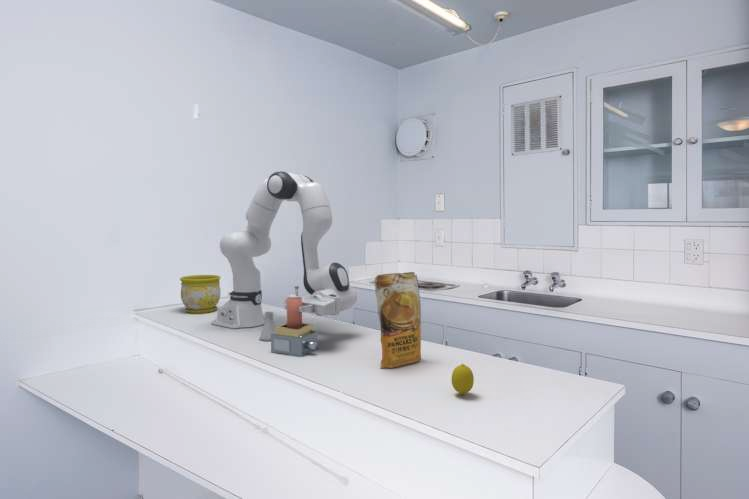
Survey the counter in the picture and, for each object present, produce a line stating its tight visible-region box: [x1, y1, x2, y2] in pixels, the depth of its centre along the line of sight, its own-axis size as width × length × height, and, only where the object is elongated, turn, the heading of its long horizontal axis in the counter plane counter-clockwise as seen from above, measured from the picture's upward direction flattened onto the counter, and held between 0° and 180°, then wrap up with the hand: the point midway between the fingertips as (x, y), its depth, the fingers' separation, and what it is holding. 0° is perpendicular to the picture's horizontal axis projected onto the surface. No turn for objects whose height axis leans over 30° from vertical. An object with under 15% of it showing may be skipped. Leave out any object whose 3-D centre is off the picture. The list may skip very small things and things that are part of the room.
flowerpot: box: [179, 274, 221, 315], centre depth 224 cm, size 18×18×16 cm
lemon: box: [451, 363, 475, 396], centre depth 119 cm, size 6×6×8 cm
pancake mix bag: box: [374, 271, 422, 369], centre depth 145 cm, size 7×19×28 cm, turn 127°
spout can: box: [286, 285, 303, 329], centre depth 158 cm, size 5×5×14 cm
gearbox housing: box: [270, 322, 319, 357], centre depth 158 cm, size 15×10×8 cm
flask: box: [258, 311, 276, 342], centre depth 173 cm, size 7×7×10 cm
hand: (292, 308), depth 157 cm, fingers closed on spout can, 5 cm apart
